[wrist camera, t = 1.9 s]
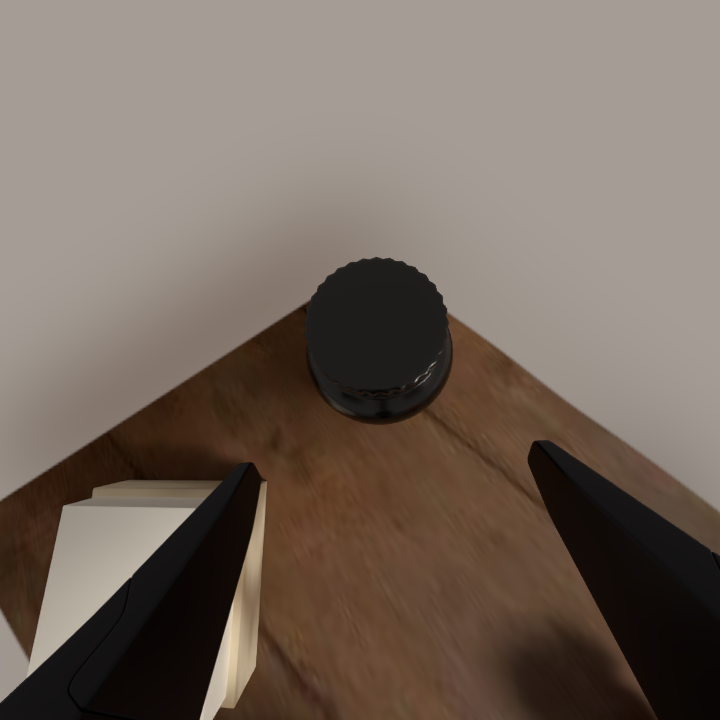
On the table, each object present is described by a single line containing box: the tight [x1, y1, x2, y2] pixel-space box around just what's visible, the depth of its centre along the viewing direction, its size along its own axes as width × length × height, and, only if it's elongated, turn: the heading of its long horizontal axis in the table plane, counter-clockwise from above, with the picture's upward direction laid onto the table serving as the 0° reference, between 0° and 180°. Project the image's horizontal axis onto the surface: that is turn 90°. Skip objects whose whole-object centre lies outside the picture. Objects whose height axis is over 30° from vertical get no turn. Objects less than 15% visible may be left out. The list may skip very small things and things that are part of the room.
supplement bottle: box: [304, 257, 453, 425], centre depth 14 cm, size 7×7×12 cm
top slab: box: [27, 496, 234, 720], centre depth 15 cm, size 10×10×2 cm
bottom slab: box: [92, 480, 267, 708], centre depth 17 cm, size 11×11×2 cm
